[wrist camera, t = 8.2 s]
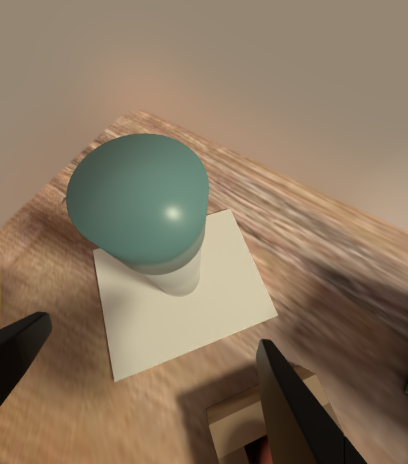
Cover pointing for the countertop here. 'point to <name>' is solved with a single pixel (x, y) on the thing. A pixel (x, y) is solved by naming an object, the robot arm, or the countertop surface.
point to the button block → (250, 419)
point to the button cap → (264, 452)
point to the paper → (181, 302)
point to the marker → (144, 207)
